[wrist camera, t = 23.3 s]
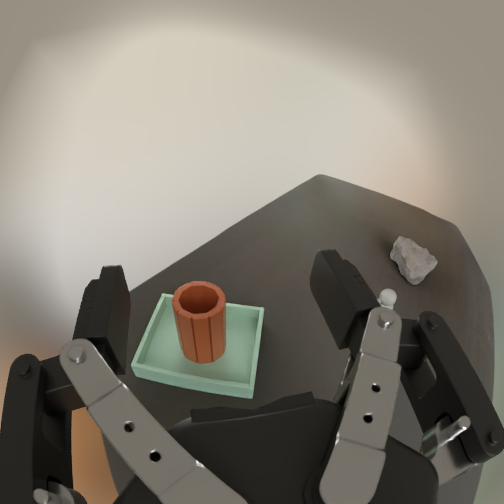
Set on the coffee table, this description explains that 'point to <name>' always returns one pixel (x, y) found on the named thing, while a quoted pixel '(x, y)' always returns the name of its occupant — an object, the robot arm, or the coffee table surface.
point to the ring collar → (200, 321)
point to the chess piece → (387, 298)
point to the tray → (194, 374)
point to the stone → (412, 260)
